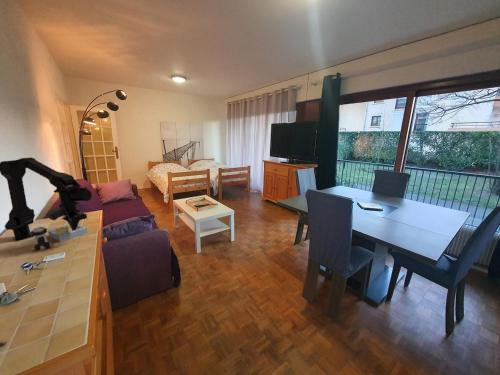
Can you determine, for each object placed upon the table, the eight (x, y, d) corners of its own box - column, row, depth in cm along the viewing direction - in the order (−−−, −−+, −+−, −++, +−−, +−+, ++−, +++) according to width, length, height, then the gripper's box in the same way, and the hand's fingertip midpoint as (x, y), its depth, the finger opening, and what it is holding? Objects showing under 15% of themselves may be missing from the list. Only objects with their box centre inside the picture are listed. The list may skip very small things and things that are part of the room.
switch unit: (49, 236, 110) (47, 230, 109) (75, 228, 120) (74, 222, 119) (60, 242, 103) (58, 235, 102) (87, 233, 113) (86, 227, 112)
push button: (29, 253, 93) (24, 232, 90) (32, 248, 97) (27, 228, 95) (50, 249, 96) (45, 229, 94) (52, 244, 101) (47, 225, 98)
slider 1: (56, 234, 105) (55, 228, 104) (63, 231, 107) (62, 226, 106) (58, 235, 103) (57, 229, 103) (65, 232, 106) (64, 227, 105)
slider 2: (66, 231, 108) (65, 225, 107) (72, 229, 110) (71, 223, 110) (68, 232, 107) (67, 226, 106) (75, 229, 109) (73, 224, 109)
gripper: (38, 202, 100) (46, 232, 104) (54, 208, 91) (62, 241, 95) (67, 196, 110) (73, 224, 113) (84, 201, 101) (90, 232, 104)
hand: (74, 230), depth 106 cm, fingers closed
